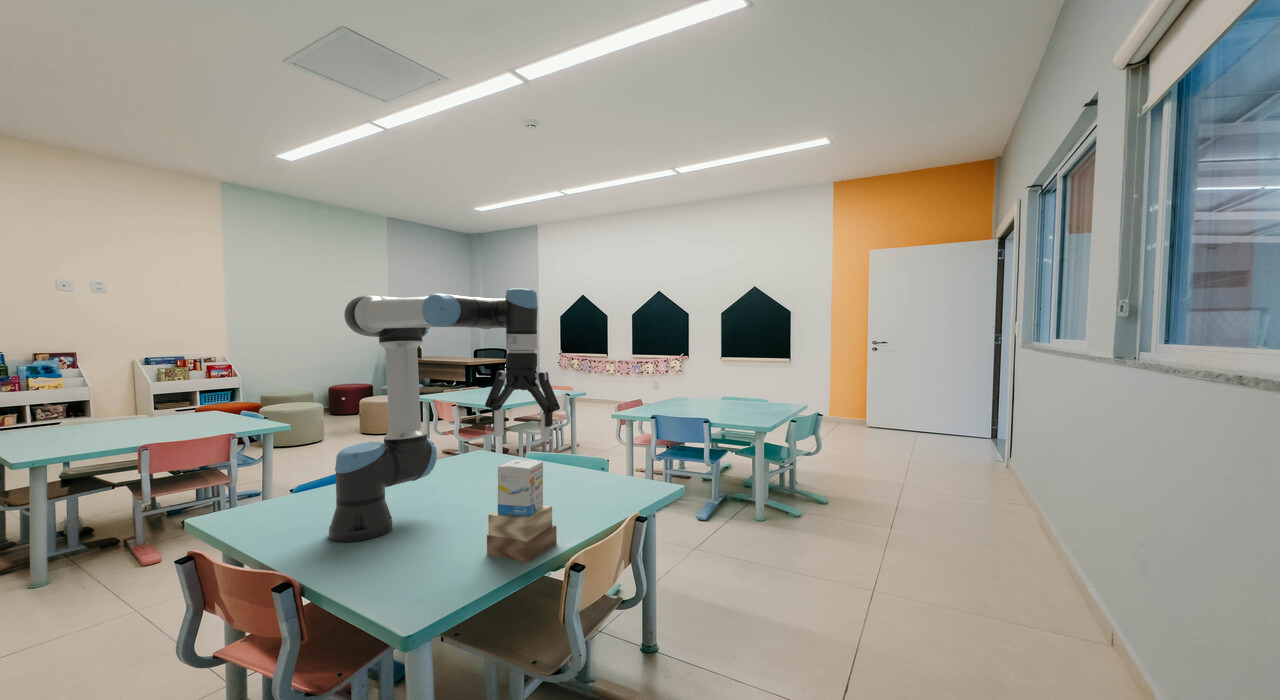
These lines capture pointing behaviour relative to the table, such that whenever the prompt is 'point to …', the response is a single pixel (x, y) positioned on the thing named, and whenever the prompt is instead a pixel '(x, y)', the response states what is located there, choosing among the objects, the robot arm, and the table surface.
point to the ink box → (520, 487)
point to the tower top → (520, 524)
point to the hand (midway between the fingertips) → (521, 438)
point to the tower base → (522, 546)
